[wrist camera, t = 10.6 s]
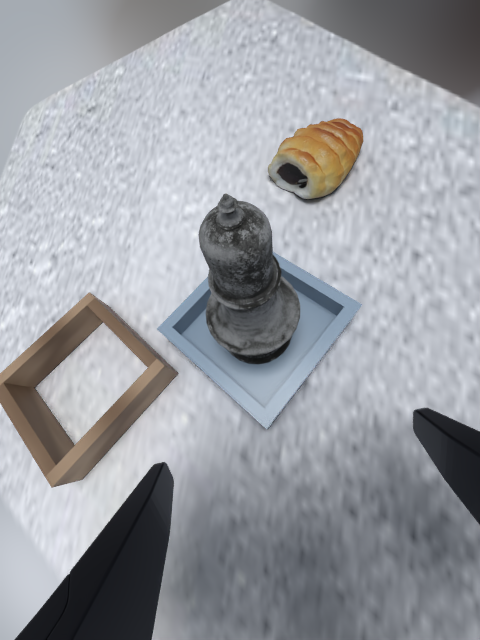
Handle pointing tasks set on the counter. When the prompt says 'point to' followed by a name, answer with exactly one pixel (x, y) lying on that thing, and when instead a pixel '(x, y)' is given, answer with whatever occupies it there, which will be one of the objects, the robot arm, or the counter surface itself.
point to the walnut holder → (38, 421)
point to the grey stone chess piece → (246, 284)
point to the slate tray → (277, 375)
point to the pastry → (316, 158)
